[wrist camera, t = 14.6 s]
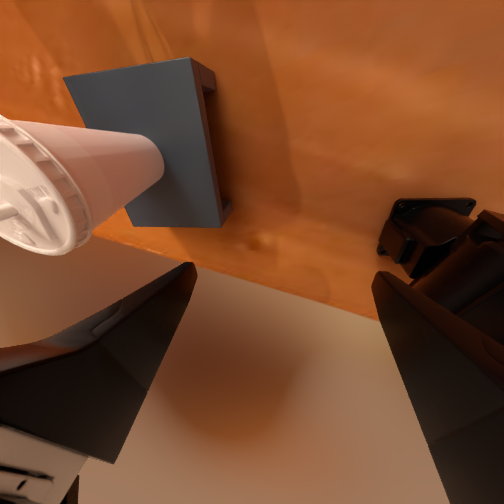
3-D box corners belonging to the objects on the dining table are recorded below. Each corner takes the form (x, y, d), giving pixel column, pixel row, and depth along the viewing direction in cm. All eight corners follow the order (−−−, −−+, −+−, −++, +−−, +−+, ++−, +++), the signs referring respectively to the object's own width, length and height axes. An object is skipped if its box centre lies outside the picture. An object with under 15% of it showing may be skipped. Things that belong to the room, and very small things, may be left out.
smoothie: (151, 209, 19) (-67, 346, 7) (93, 147, 16) (-381, 212, 5) (194, 172, 16) (-51, 303, 4) (132, 90, 13) (-816, -90, 2)
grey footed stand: (213, 71, 15) (190, 56, 12) (232, 210, 22) (221, 228, 18) (110, 86, 17) (61, 77, 13) (157, 210, 24) (133, 226, 20)
